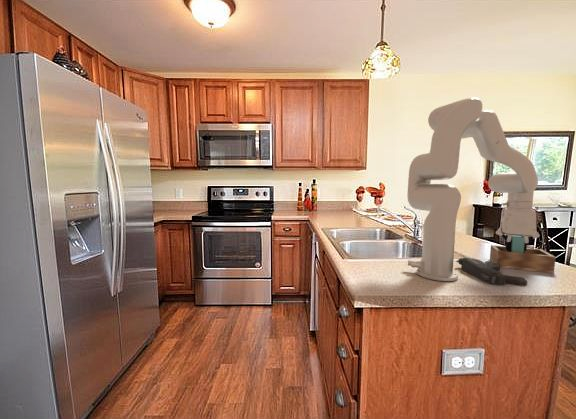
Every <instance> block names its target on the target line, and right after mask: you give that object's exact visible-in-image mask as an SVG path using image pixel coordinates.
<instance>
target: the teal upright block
mask: <svg viewBox="0 0 576 419" xmlns="http://www.w3.org/2000/svg"><path fill="white" fill-rule="evenodd" d="M524 239H525V237H522V235H512V238H511V242H512V247H511V252H515V253H524Z"/></svg>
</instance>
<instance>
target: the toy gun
mask: <svg viewBox="0 0 576 419" xmlns="http://www.w3.org/2000/svg"><path fill="white" fill-rule="evenodd" d="M455 262H456V263H458V264H459V266H460V268H461V270H462V271H465V272H466V273H469V275H472V276H474V277H476V278H478V279H480V280H482V281H484V283H487V284H491V285H496V286H504V285H505V284H506V283H508V284H511V285H517V286H522V285H523V286H527V284H528V280H527V279H526V278H524V277H522V276H512V275H506V274H503V273H501V272H499V271H501V268H502V267H501V265H500V264H497V263H493V262H492V261H489V260H488V261H485V262H484V261H482V260H480V259H476V258H473V257H460V258H458V259H457V260H456V261H455ZM523 286H522V287H523Z"/></svg>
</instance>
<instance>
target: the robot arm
mask: <svg viewBox="0 0 576 419" xmlns="http://www.w3.org/2000/svg"><path fill="white" fill-rule="evenodd" d="M427 118H428V119H427V122H428V125H429V128H430V129H431V130H432V131H433V133H432V136H431V143H430V150H429V152H428V153H422V154H419V155H417V156H415V157H414V158H413V159H412V161H411V163H410V165H409V169H408V178H407V179H408V181H407V184H408V185H407V201H408V204H409V207H411V208H412V209H414V210H418V211H425V212H428V213H427V216H426V218H425V219H424V222H423V228H422V229H423V232H422V234H423V235H422V250H421V251H422V252H421V258H420V260H416V261H415V260H409V259H408V260H407V266H410V267H411V268H416V274H417V275H419V276H420V277H423V278H425V279H427V280H431V281H438V282H452V281H453V282H454V281H457V280H458V279H459V274H458V273H456V272H455V271H454V259H455V258H454V256H455V255H454V254H455V244H456V243H455V242H456V240H455V239H456V228H457V217H458V212H459V208H460V204H461V201H462V195H461V191H460V190H459V189H458V187H456V186H454V185H452V184H447V183H431V181H443V180H446V181H447V180H451V179H453V178H454V177H455V176H456V175H457V173H458V169H459V162H460V150H461V141H462V139H467V138H472V139H473V141H474V143H475V145H476V146H475V147H476V148H477V150H478V152H479V155H480V156H481V158H483V159H485V160H488V161H491V162H493V163H497V164H501V165H504V166H506V167H509V169H511V170H513V171H514V172H502V173H501V172H499V173H496V174H493V175H492V176H490V178H488V181H487V182H488V183H487V185H488V188H489V189H490V190H491V191H493V192H494V193H501V194H507V200H506V201H505V202H504V201H503V202H502V206H504V207H505V208H504V210H503V211H502V212H503V213H502V218H501V221H500V226H499V228H498V229H497V230H496V231H495V234H496V235H498V236H500V237H501V238H502V239H503V240H504V241H505V246H506V249H507V251H508V252H511V247H512V242H511V238H512V235H514V236H521V237H525V239H524V253H525V251H526V249H527V248H528V247H527V246H528V244H529V243H530V242H531V241H532V240H535V239H538V238H539V237H540V236H541V235H540V234H539V232H538V231H537V213H536V209H533V205H534V204H533V202H534V192H535V190H536V189H537V187H538V185H539V179H538V178H539V177H538V174H537V171H536V169H535V166H534V164H533V162H532V161H531V160H530V158H528V157H527V156H526V155H525V154H523V153H522V152H520V151H519V150H517V149H516V148H514V147H512V146H511V145H509V143H508V140H507V138H506V135H505V132H504V130H503V126H502V125H501V123H500V120H499V117H498V115H497V113H496V112H495V111H493V110H488V109H486V110H483V101H482V100H481V99H480V98H478V97H467V98H464V99H460V100H456V101H454V102H451V103H448V104H445V105H442V106H439V107H436V108H435V109H433V110H432V111H431V112H430V114H429V115H428V117H427Z"/></svg>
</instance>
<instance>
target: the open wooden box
mask: <svg viewBox="0 0 576 419" xmlns="http://www.w3.org/2000/svg"><path fill="white" fill-rule="evenodd" d="M489 260H490V262H492V263H497V264H500V265H501V268H502V269H503V268H504V269H514V270H522V271H529V272H530V271H531V272H540V273H548V274H549V273H550V274H555V267H556V266H555V265H556V256H554V254H551V253H550V252H547V251H545V250H544V249H541V248H531V247H530V248H529V247H527V249H526V251H525V253H515V252H508V251H507V249H506V245H505V246H504V245H493V244H491V245H490V253H489Z"/></svg>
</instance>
